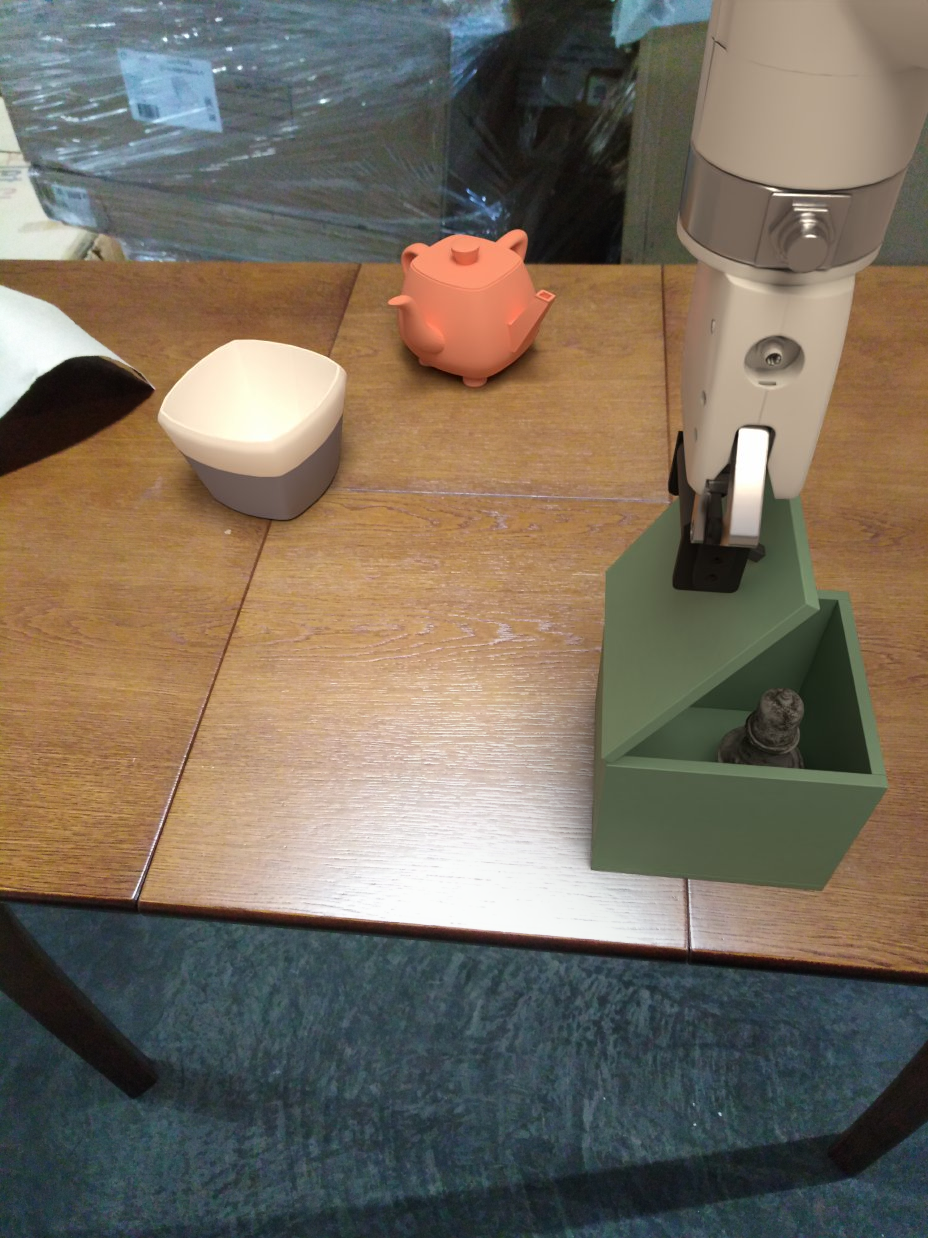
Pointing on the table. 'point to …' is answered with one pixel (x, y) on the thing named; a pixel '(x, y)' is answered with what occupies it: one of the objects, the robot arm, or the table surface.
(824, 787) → the chest
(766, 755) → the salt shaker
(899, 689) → the table surface
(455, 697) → the table surface
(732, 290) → the robot arm
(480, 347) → the teapot
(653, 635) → the lid
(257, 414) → the bowl
